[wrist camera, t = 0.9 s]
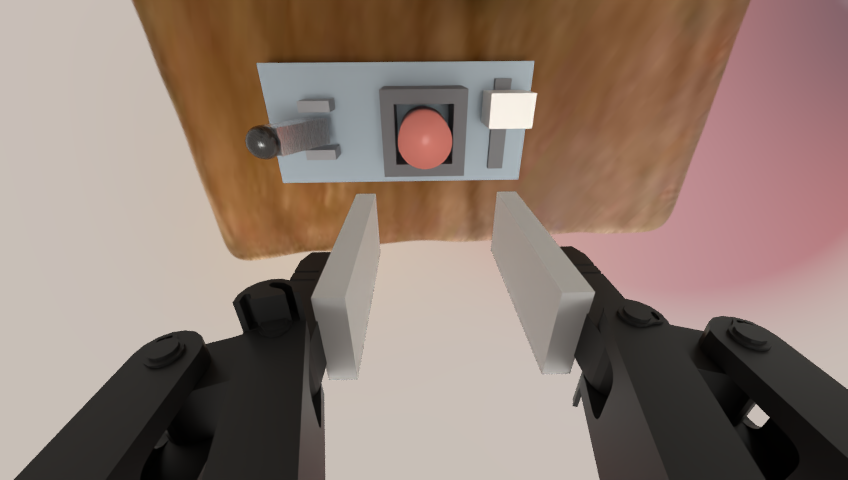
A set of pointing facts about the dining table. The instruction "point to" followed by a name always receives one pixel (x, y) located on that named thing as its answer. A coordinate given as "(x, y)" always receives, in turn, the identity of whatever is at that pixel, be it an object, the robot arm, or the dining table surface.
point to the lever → (287, 137)
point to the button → (424, 138)
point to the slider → (508, 109)
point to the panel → (394, 117)
